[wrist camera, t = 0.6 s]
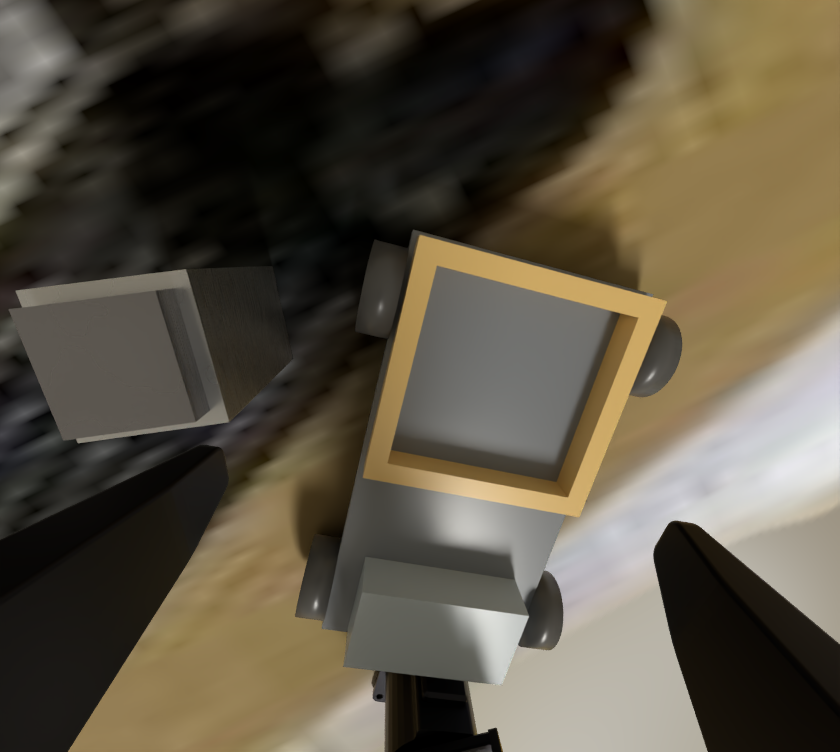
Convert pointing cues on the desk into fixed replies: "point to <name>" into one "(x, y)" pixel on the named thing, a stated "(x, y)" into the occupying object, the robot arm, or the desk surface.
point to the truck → (476, 452)
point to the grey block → (153, 348)
